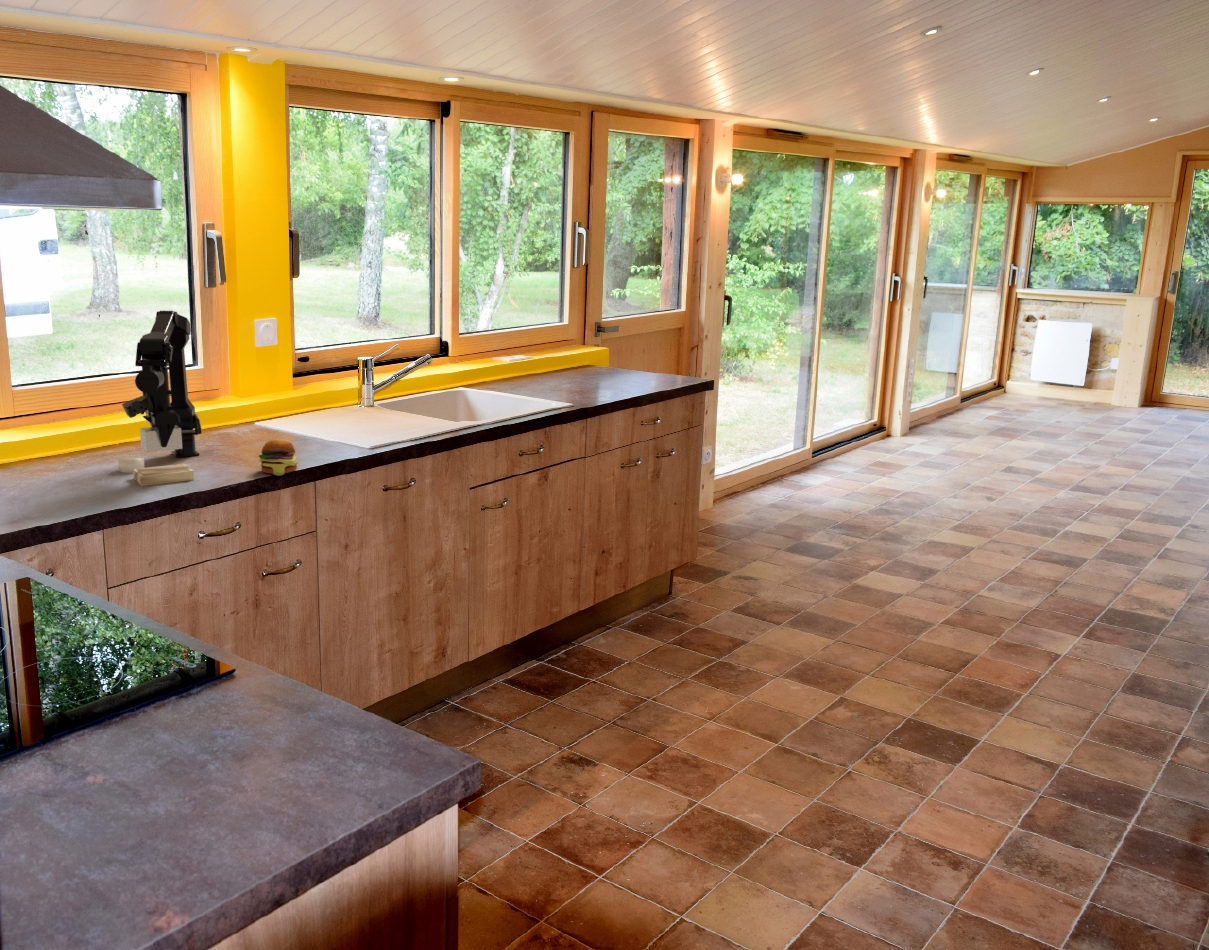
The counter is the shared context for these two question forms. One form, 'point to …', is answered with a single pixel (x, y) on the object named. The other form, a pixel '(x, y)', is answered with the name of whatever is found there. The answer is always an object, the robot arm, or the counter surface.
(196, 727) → the counter surface
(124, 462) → the cream rounded block
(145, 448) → the block
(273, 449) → the cheeseburger
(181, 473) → the stand
